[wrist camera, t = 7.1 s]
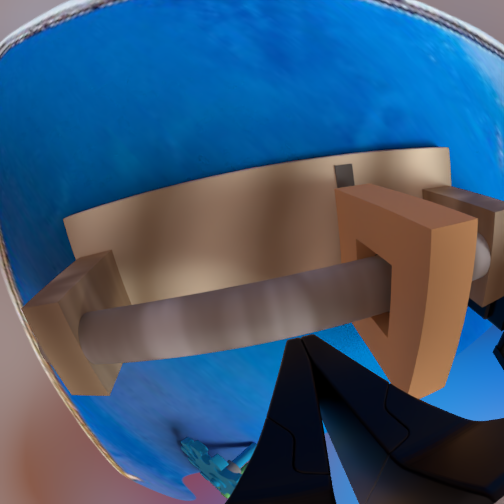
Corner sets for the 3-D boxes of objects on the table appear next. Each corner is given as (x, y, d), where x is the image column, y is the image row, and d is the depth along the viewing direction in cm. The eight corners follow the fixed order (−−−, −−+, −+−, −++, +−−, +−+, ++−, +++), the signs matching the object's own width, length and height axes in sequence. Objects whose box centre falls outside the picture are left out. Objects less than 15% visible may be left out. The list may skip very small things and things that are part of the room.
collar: (369, 183, 13) (478, 218, 6) (374, 302, 16) (444, 387, 9) (334, 188, 13) (431, 229, 6) (343, 310, 16) (404, 405, 9)
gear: (166, 428, 19) (260, 507, 14) (217, 391, 23) (309, 455, 18) (184, 469, 24) (252, 523, 19) (221, 440, 28) (288, 488, 23)
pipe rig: (439, 146, 15) (522, 156, 8) (439, 281, 18) (500, 329, 12) (70, 215, 15) (-6, 256, 8) (123, 349, 18) (91, 426, 11)
